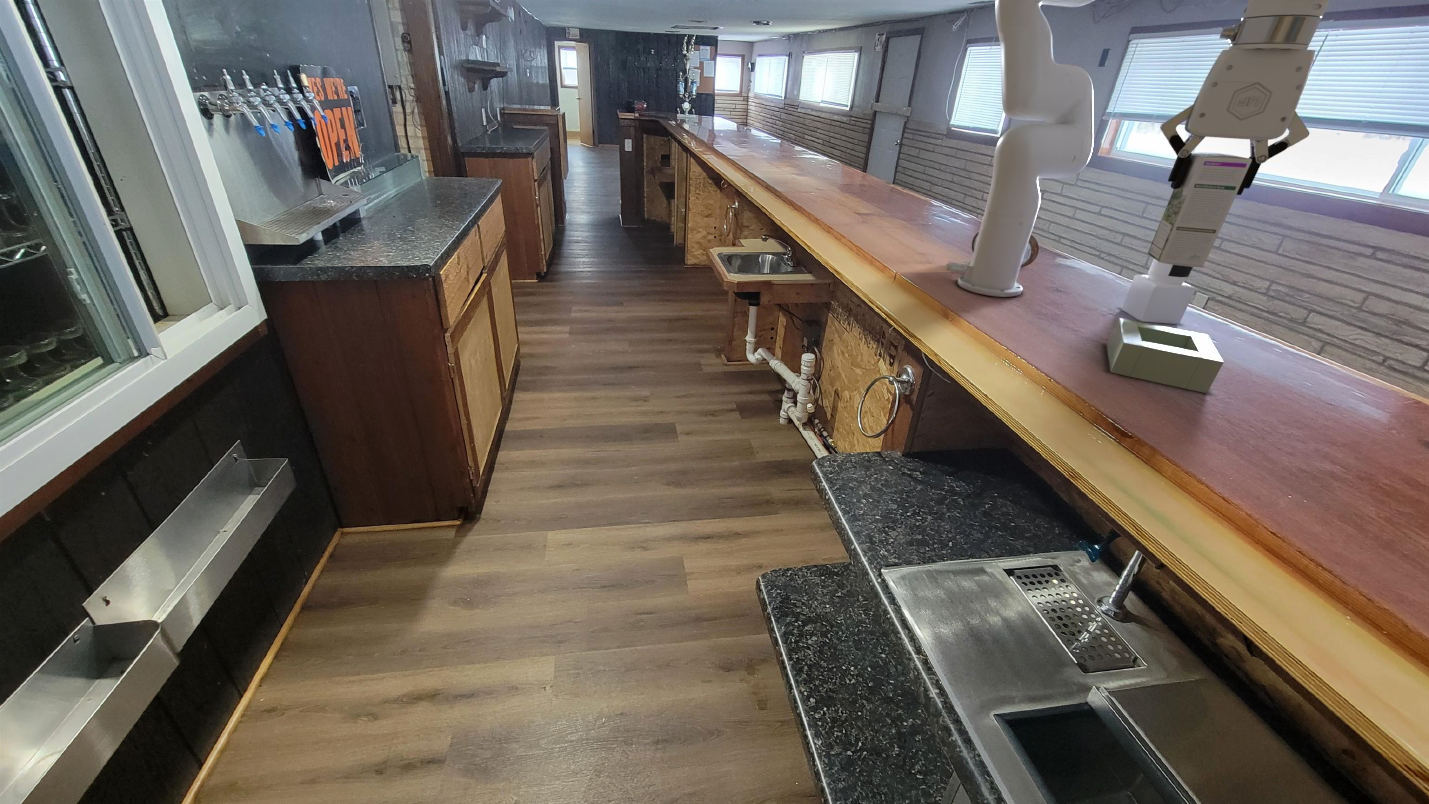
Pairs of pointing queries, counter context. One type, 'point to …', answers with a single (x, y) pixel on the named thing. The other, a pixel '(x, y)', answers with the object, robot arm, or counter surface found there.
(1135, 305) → the medicine bottle
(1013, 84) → the robot arm
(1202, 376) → the socket block
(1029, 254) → the tin
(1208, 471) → the counter surface
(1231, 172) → the syrup box
